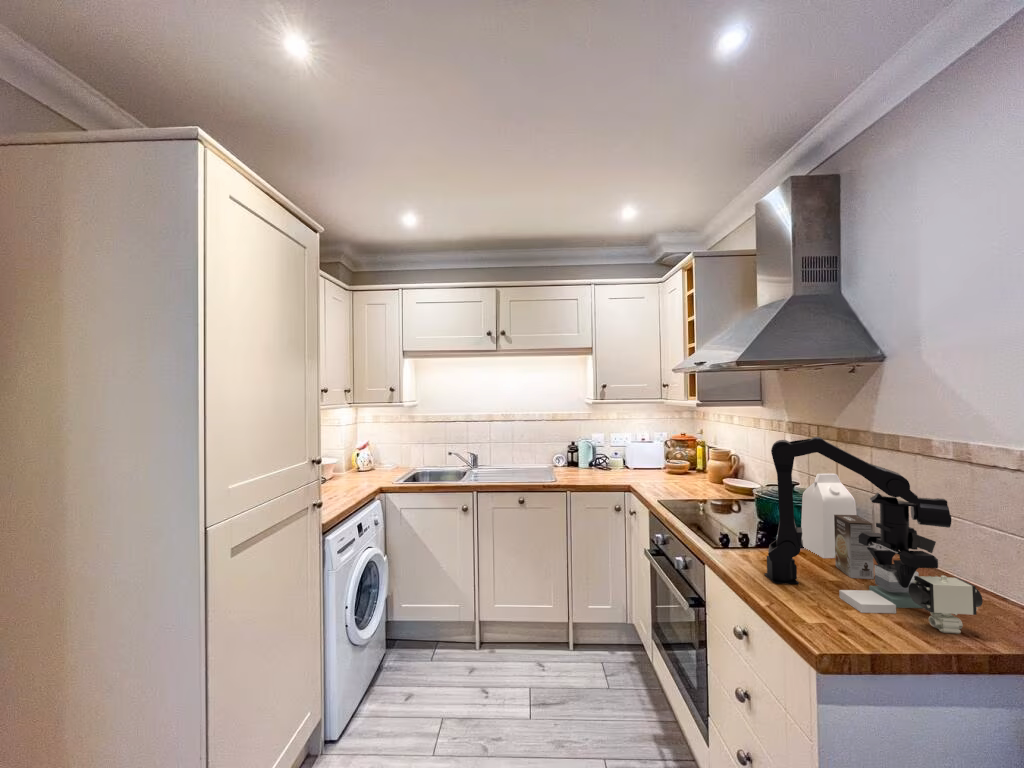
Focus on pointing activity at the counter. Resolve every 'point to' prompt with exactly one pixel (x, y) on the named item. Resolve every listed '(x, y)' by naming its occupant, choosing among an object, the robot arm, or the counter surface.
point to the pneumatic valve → (945, 600)
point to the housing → (890, 578)
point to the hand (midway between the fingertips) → (896, 582)
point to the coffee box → (853, 546)
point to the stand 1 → (867, 601)
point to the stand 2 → (896, 597)
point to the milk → (824, 513)
